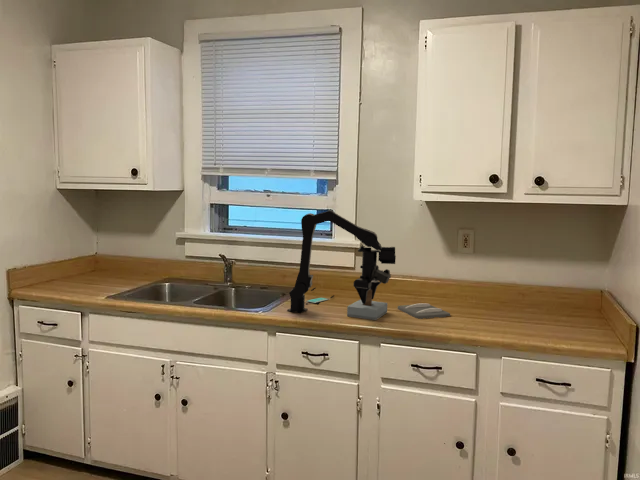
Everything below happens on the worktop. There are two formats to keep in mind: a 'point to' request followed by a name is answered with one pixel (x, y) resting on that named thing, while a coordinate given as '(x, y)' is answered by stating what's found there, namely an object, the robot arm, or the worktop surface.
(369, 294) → the dowel
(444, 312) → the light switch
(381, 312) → the hole block
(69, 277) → the worktop surface
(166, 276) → the worktop surface
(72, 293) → the worktop surface
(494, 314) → the worktop surface
